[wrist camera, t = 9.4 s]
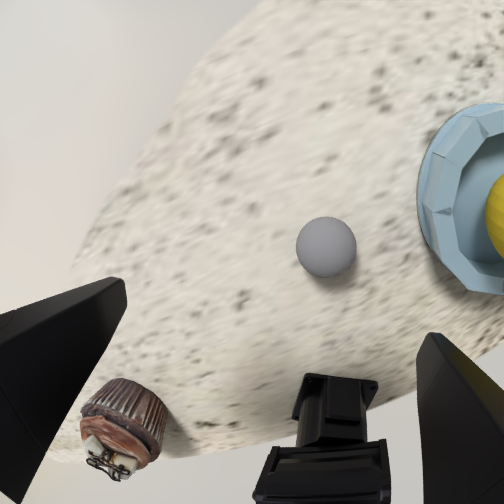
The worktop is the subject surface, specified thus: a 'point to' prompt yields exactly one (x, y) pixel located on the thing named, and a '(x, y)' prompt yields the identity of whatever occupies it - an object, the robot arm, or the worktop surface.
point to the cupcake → (122, 428)
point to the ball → (326, 247)
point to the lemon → (496, 215)
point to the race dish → (463, 195)
